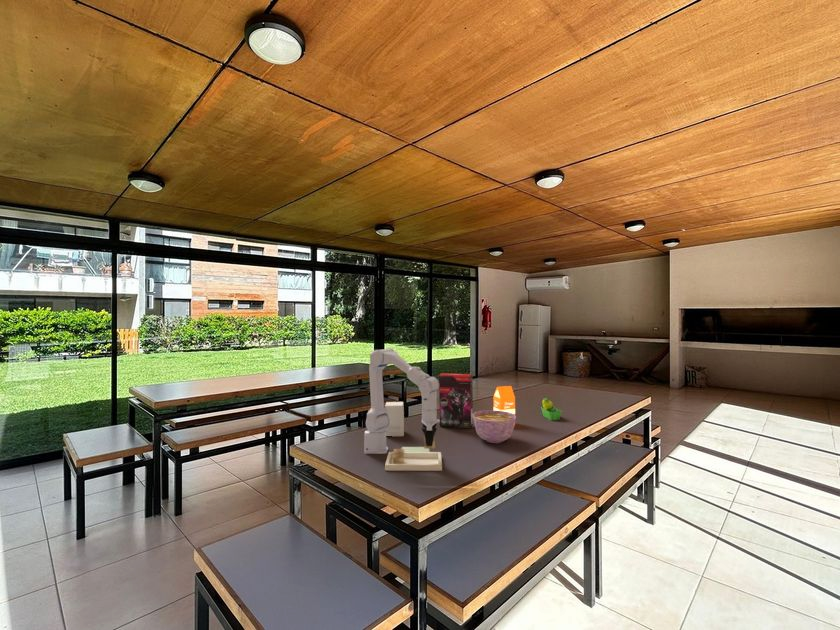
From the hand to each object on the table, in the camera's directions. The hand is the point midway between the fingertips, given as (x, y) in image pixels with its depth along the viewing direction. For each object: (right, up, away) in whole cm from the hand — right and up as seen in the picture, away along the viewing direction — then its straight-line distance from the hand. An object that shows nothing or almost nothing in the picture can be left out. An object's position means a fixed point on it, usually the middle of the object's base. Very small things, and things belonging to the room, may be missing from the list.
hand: (429, 443), depth 154 cm
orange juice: (+41, -8, +57) cm, 71 cm away
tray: (-6, -8, 0) cm, 10 cm away
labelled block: (0, -1, 0) cm, 1 cm away
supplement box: (-16, -9, +40) cm, 44 cm away
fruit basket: (+70, -8, +68) cm, 98 cm away
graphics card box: (+15, -8, +53) cm, 55 cm away
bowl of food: (+31, -8, +29) cm, 43 cm away
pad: (-6, -8, +14) cm, 17 cm away
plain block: (-12, -8, 0) cm, 14 cm away
